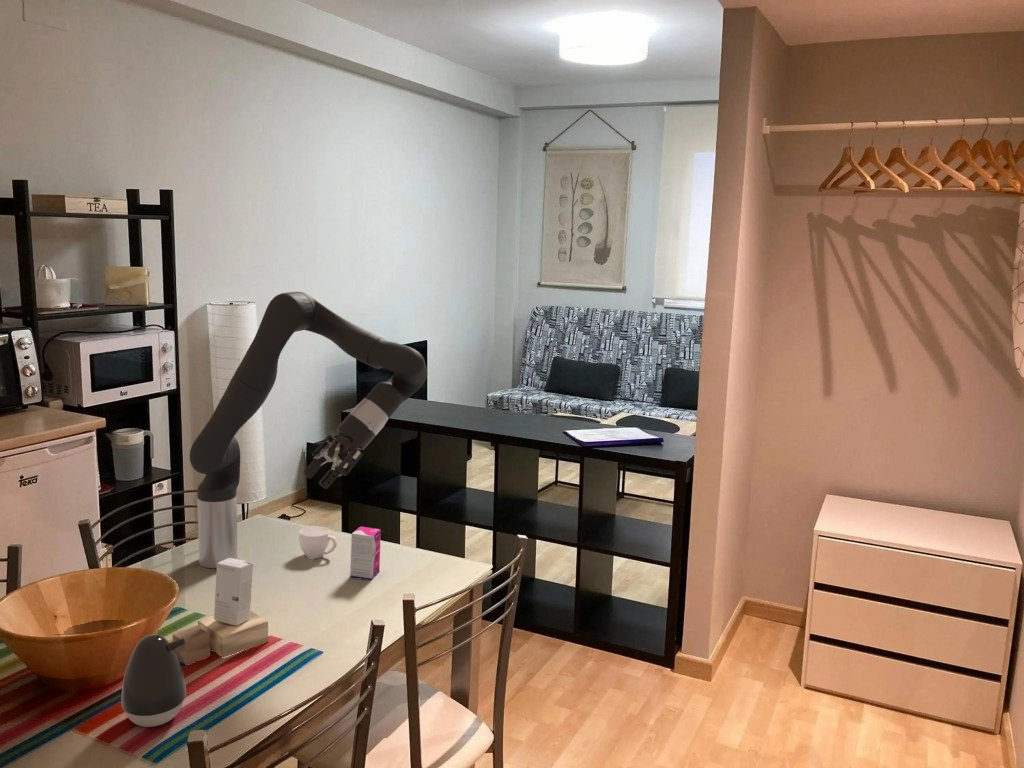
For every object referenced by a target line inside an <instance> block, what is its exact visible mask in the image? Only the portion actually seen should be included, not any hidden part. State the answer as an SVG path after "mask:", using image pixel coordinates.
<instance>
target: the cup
mask: <svg viewBox="0 0 1024 768" xmlns="http://www.w3.org/2000/svg"><path fill="white" fill-rule="evenodd" d="M298 535H299V536H298V539H299V540H298V541H299V546H300V549H301V551H302V553H303V554H304V556H305V557H306V556H307V557H309V558H308V559H310V558H317V559H319V558H318V557H320V558H322V557H323V556H324V555H329V554H331V553H332V552H333V551H335V550H336V548H337V545H338V542H337V541H338V540H337V538H336V537H335V536H334V535H331V530H330V529H329V528H328V527H325V526H323V525H321V526H320V525H310V526H305V527H303V528H301V529H300V530H299V531H298ZM330 540H331V541H332V547H331V548H330V549H329V550H328V547H329V543H330ZM321 556H322V557H321ZM307 557H306V558H307Z"/></svg>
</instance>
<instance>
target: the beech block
mask: <svg viewBox="0 0 1024 768" xmlns="http://www.w3.org/2000/svg"><path fill="white" fill-rule="evenodd" d="M197 627H199V628H201V629H203V630H204V631H206V632H208V633H209V634H210V649H211V650H213V651H214V652H216V653H217V654H218V655H220V656H222V657H223V658H224V657H226V656H229V655H232V654H235V653H237V652H240V651H242V650H245V649H248V648H251V647H254V646H257V645H260V644H263V643H265V642H268V643H269V621H268V620H266V619H265V618H263V617H262V616H260V615H258V614H257V613H256V612H254V611H252V610H250V619H248V620H247V621H245V622H243V623H241V624H239V625H232V624H228V623H224V622H220V621H217V620H214V614H213V615H210V616H206V617H204V618H201V619H198V620H197ZM265 644H266V643H265ZM263 645H264V644H263ZM260 646H261V645H260ZM257 647H258V646H257ZM211 650H210V651H211ZM213 651H212V652H213ZM214 652H213V653H214ZM217 654H216V655H217ZM218 655H217V656H218ZM220 656H219V657H220Z"/></svg>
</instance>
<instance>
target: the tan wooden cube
mask: <svg viewBox="0 0 1024 768" xmlns="http://www.w3.org/2000/svg"><path fill="white" fill-rule="evenodd" d="M171 636H172V642H173V641H176V640H179V639H182V638H184V639H185V641H186V643H185V644H184V645H182V646H180V647H178V648H176V649H174V650H175V652H176V654H177V656H178V659H179V660H181V661H182V662H183V663H185V664H187V665H188V664H191V663H193V662H196V661H198V660H201V659H203V658H206V657H208V656H210V657H211V650H210V634H209V633H208V632H206V631H204V630H203V629H201V628H199V627H198V625H193V626H192V627H188V628H185V629H183V630H180V631H178V632H174V633H172V635H171ZM206 659H207V658H206ZM201 661H202V660H201ZM183 663H182V664H183ZM196 663H197V662H196ZM191 665H192V664H191Z"/></svg>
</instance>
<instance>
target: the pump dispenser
mask: <svg viewBox="0 0 1024 768" xmlns="http://www.w3.org/2000/svg"><path fill="white" fill-rule="evenodd" d="M185 643H186V641H185V639H184V638H182V639H179V640H176V641H173V640H172V641H171V642H170V641H169V640H168V639H167V638H166V637H165V636H163V635H160V634H156V633H154V634H148V635H146V636H144V637H142V638H140V640H139V641H138V642H137V644H136V645H135V647H134V648H133V651H132V652H131V655H130V657H129V658H128V659H129V660H128V662H127V664H126V668H125V671H124V672H125V673H124V676H123V681H122V687H121V696H120V697H121V699H120V700H121V708H122V710H123V711H124V713H125V715H126V716H127V718H128V719H129V720H130V721H131V722H132V723H134V724H135V725H137V726H140V727H145V728H151V727H159V726H161V725H164V724H166V723H168V722H170V721H171V720H173V719H174V718H175V717H176V716H177V715H178V714H179V712H180V710H181V708H183V707H182V706H183V703H184V702H185V699H186V697H187V687H186V686H187V685H186V680H185V676H184V671H183V668H182V665H181V664H182V663H181V662H180V661H179V659H178V656H177V654H176V652H175V650H174V649H176V648H178V647H180V646H182V645H184V644H185Z"/></svg>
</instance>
